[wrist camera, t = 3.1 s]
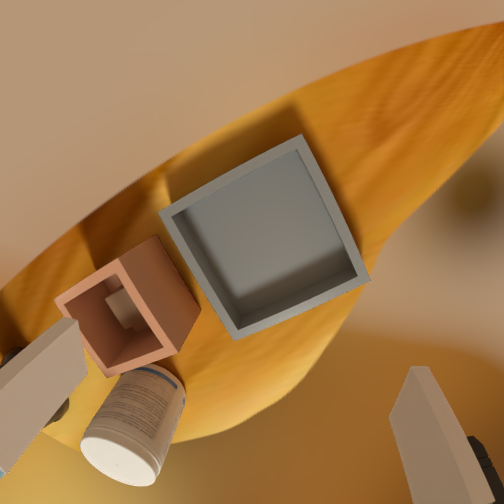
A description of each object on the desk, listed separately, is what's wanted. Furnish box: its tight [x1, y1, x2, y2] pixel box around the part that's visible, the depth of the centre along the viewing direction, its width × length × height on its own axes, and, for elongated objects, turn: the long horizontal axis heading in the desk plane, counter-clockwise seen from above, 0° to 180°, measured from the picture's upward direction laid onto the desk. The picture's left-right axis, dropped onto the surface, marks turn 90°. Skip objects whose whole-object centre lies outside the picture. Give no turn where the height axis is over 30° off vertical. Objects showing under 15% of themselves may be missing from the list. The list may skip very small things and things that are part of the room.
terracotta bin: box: [54, 234, 201, 378], centre depth 32 cm, size 10×10×9 cm
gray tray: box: [158, 134, 371, 341], centre depth 31 cm, size 15×15×4 cm
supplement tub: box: [80, 363, 186, 486], centre depth 33 cm, size 10×10×15 cm
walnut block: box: [105, 285, 145, 329], centre depth 33 cm, size 4×4×4 cm
